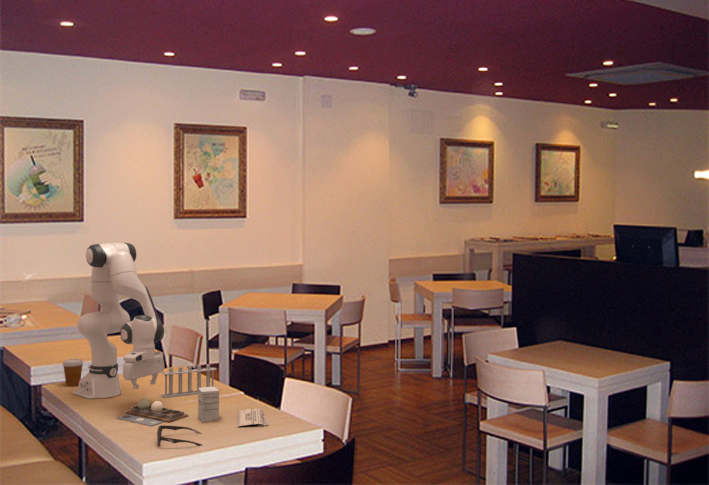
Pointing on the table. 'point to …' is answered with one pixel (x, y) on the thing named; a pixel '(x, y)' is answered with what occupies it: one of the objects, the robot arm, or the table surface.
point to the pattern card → (140, 420)
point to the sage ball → (143, 404)
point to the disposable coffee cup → (72, 371)
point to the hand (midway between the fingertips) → (144, 386)
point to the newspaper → (251, 417)
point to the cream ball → (157, 407)
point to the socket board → (158, 414)
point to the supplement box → (208, 404)
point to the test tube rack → (188, 380)
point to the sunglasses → (172, 438)
